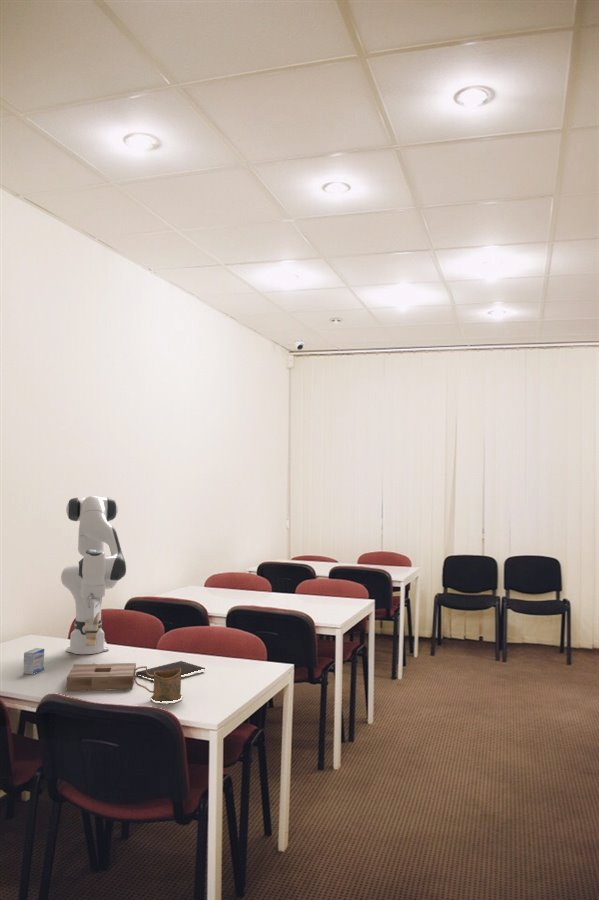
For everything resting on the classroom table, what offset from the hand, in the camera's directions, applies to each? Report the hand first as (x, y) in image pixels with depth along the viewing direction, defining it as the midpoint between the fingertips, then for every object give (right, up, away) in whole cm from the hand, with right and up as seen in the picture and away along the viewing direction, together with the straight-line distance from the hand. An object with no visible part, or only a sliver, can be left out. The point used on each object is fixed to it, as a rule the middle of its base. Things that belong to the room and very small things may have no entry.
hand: (91, 627), depth 269 cm
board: (+4, -21, 0) cm, 22 cm away
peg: (0, -7, 0) cm, 7 cm away
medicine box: (-28, -22, +13) cm, 37 cm away
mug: (+30, -22, -18) cm, 41 cm away
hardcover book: (+28, -23, +14) cm, 39 cm away
